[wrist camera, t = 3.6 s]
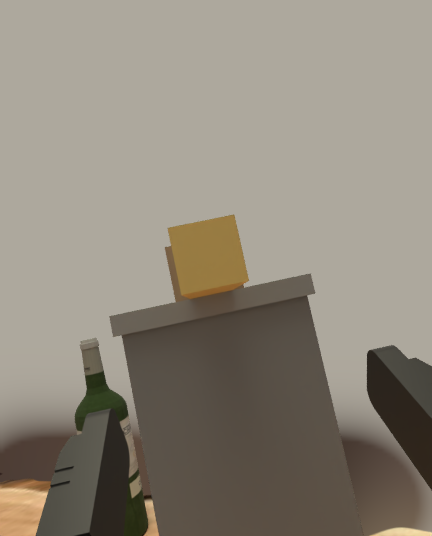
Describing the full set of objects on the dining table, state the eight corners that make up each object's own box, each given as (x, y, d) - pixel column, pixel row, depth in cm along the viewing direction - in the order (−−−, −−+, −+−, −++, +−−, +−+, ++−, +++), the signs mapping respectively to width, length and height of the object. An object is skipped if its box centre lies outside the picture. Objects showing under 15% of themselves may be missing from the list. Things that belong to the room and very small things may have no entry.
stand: (423, 747, 25) (310, 273, 28) (200, 810, 24) (109, 316, 27) (334, 567, 41) (270, 286, 44) (202, 601, 41) (146, 312, 44)
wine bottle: (157, 529, 56) (121, 332, 59) (107, 560, 51) (70, 344, 54) (135, 512, 62) (103, 335, 65) (89, 539, 58) (56, 346, 60)
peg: (278, 274, 17) (254, 172, 18) (151, 301, 17) (130, 197, 18) (238, 291, 38) (227, 244, 39) (180, 304, 38) (171, 256, 38)
